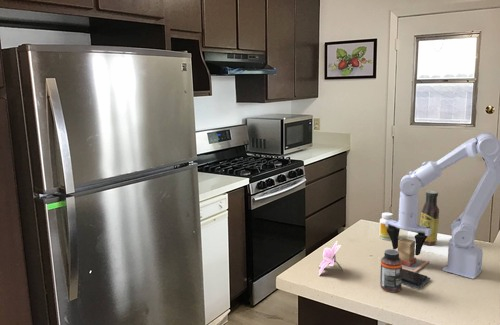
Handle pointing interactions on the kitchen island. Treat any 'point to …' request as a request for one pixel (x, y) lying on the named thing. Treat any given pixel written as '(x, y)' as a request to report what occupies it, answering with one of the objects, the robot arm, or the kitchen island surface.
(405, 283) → the ink pad
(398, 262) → the supplement bottle
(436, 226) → the tonic bottle
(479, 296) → the kitchen island surface
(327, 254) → the lily
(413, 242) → the stamp
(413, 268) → the mat
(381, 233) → the supplement bottle
